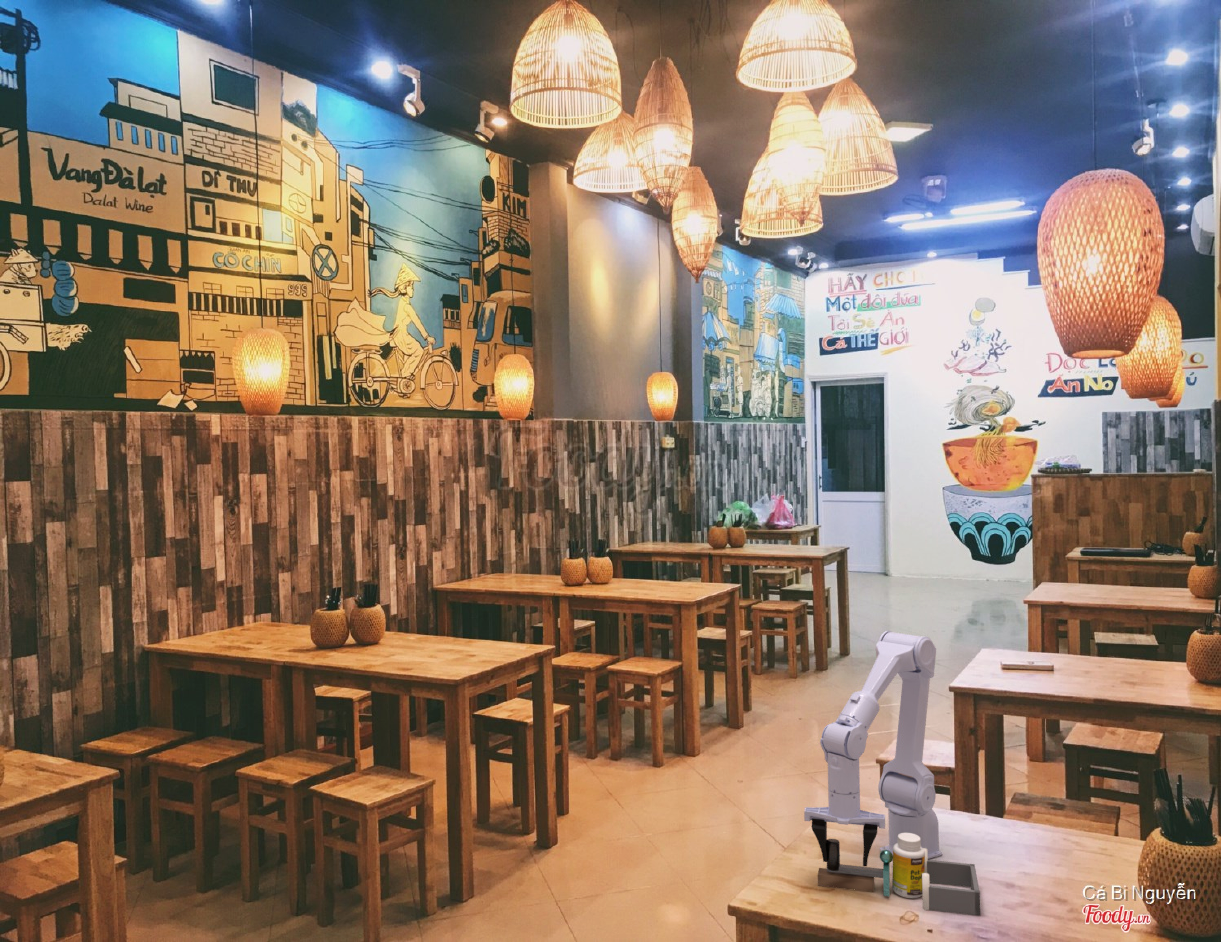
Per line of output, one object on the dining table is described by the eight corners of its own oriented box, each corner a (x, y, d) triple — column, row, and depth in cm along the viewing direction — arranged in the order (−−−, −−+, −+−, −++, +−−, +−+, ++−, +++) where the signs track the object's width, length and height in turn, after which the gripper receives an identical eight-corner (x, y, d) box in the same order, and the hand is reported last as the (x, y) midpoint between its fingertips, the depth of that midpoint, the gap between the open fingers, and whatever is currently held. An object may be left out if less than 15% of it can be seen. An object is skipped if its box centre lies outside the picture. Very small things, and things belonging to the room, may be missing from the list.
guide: (817, 886, 169) (817, 874, 169) (819, 878, 172) (819, 867, 172) (873, 892, 166) (873, 880, 166) (874, 885, 169) (873, 873, 169)
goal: (922, 909, 159) (922, 875, 159) (921, 879, 171) (920, 847, 171) (980, 916, 157) (979, 881, 157) (974, 885, 168) (974, 853, 168)
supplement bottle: (910, 902, 162) (911, 845, 162) (885, 890, 167) (886, 834, 166) (930, 894, 165) (931, 838, 165) (905, 882, 170) (906, 828, 170)
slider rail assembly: (825, 889, 167) (824, 848, 167) (828, 872, 174) (827, 833, 174) (893, 896, 163) (892, 855, 163) (893, 879, 170) (892, 839, 170)
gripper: (802, 793, 168) (803, 866, 168) (884, 800, 163) (885, 875, 163) (805, 780, 174) (807, 850, 174) (884, 787, 170) (886, 859, 170)
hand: (845, 862), depth 169 cm, fingers open, 6 cm apart
